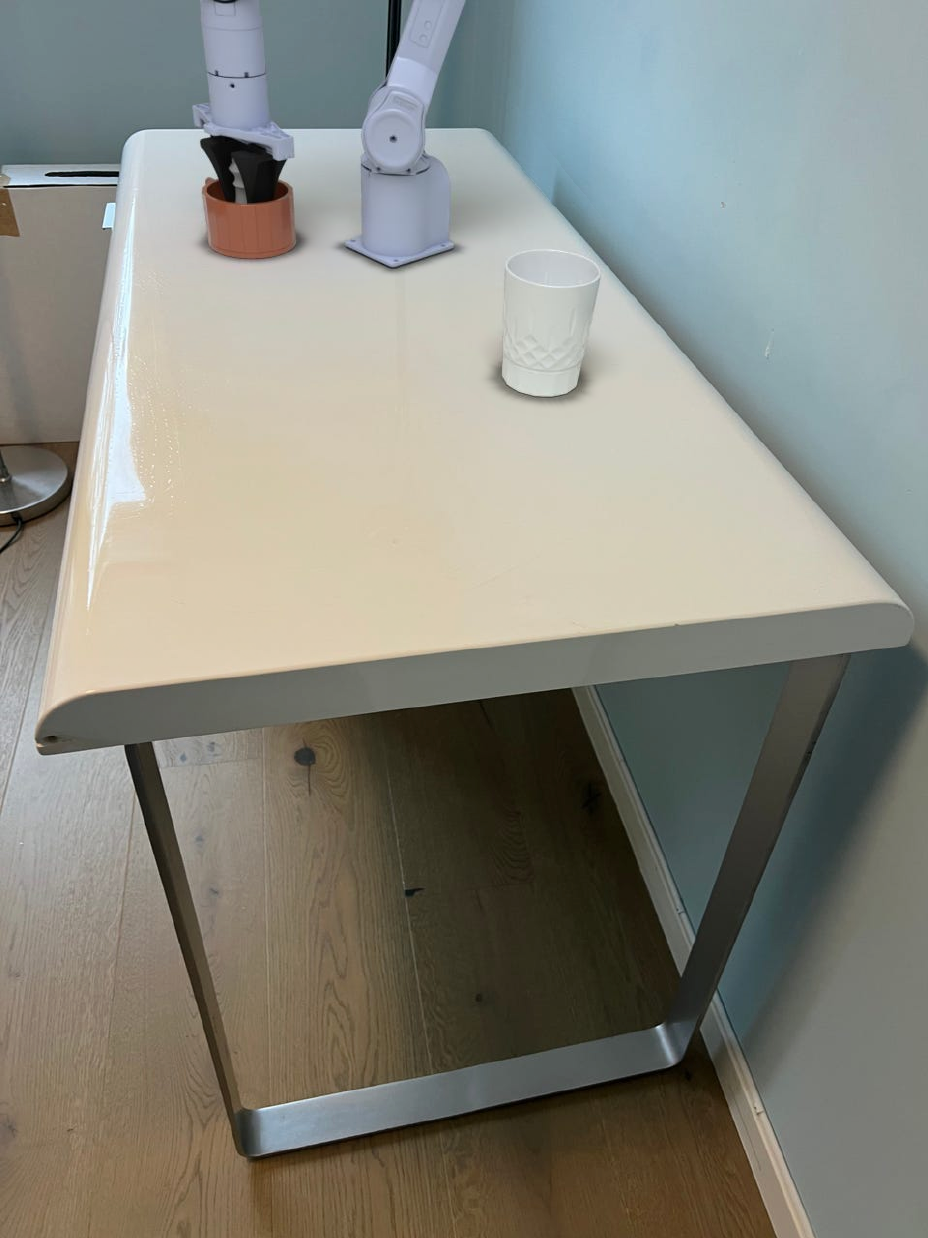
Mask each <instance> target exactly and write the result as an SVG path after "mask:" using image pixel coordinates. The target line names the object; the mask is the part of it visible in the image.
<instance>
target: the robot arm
mask: <svg viewBox="0 0 928 1238" xmlns="http://www.w3.org/2000/svg"><path fill="white" fill-rule="evenodd" d="M466 1H467V0H413V1H412V3H411V7H410V10H409V13H408V15H407V19H406V22H405V24H404V28H403V31H402V34H401V37H400V38H399V43H398V46H397V49H396V51H395V53H394V57H393V59H392V61H391V64H390V68H389V70H388V73H387V76H386V77H385V79H384V80H383V82H382V83H381V84H380V85H379V86H378V87H377V88H376V89H375V90H374V91H373V92H372V94H371V95H370V97H369V100H368V103H367V109H366V116H365V119H364V120H363V123H362V126H361V131H360V133H361V134H360V137H361V145H362V148H363V151H364V152H363V153H361V154H360V196H361V197H360V205H361V206H360V209H361V212H360V213H361V236H358V237H354V238H351V239H347V240H345V241H344V245H345V247H347V248H349V249H351V250H353V251H356V252H357V253H359V254H362V255H364V256H366V257H367V258H370V259H373V260H375V261H377V262H379V263H381V264H384V265H386V266H388V267H390V268H396V267H399V266H402V265H405V264H408V263H411V262H415V261H417V260H421V259H424V258H427V257H430V256H433V255H437V254H440V253H442V252H446V251H449V250H452V249H454V247H455V243H454V242H452V241H451V240H450V223H451V221H450V220H451V201H452V183H451V178H450V175H449V173H448V172H449V171H448V170H447V168H446V166H445V165H444V163H442V161H440V159H439V158H437V157H435V156H433V155H429V154H428V153H426V149H425V148H426V139H427V138H426V137H427V136H426V126H427V123H428V111H429V109H430V105H431V103H432V99H433V95H434V92H435V89H436V86H437V82H438V78H439V75H440V72H441V70H442V67H443V64H444V62H445V58H446V56H447V53H448V50H449V47H450V45H451V42H452V39H453V37H454V34H455V31H456V28H457V26H458V23H459V20H460V17H461V15H462V12H463V9H464V7H465V4H466ZM199 5H200V25H201V34H202V45H203V51H204V62H205V69H206V79H207V88H208V98H209V102H206V103H205V102H204V103H200V104H193V105H192V106H191V108H192V115H193V123H194V124H193V125H194V126H195V127H198V128H203V132H204V133H205V134H208V135H209V137H202V138H200V140H199V145H200V148H201V149H202V151H203V152H204V153H205V155H206V157H207V158H208V161H209V162H210V164H211V165H212V168H213V170H214V172H215V175H216V177H217V179H219V182H220V185H221V187H222V190H223V193H224V196H225V199H226V202H231V203H236V190H235V186H234V185H233V182H234V181H235V177H234V175H233V173H232V172H231V171H230V169H229V167H230V165H231V164H232V158H233V160H234V162H235V164H236V166H237V168H238V170H239V173H240V175H241V178H242V181H243V185H244V189H245V194H246V200H247V204H255V203H264V202H270V201H274V195H275V190H276V186H277V182H278V179H279V180H280V176H281V173H282V171H283V168H284V166H285V165H286V162H287V161H288V160H289V159H294V158H295V157H296V156H295V143H294V142H295V141H294V136H293V135H290V134H288V133H286V132H285V131H284V130H283V129H282V128H281V127H279V125H277V124H276V123H275V122H274V121H273V120H272V119H271V117H270V104H269V92H268V78H267V67H266V54H265V52H266V51H265V40H264V39H265V38H264V28H263V27H264V25H263V18H262V14H261V9H260V0H199Z"/></svg>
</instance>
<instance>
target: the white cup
mask: <svg viewBox="0 0 928 1238" xmlns="http://www.w3.org/2000/svg"><path fill="white" fill-rule="evenodd" d="M601 278H602V268H601V267H600V266H599V264H598V263H596V262H595V261H594V260H592V259H591V258H589V257H586V256H585V255H582V254H579V253H576V252H572V251H567V250H562V249H555V248H554V249H553V248H552V249H551V248H534V249H527V250H523V251H519V252H516V253H514V254H512V255H510V256H509V257H508V258H506V261H505V262H504V280H503V284H504V285H503V305H502V338H501V340H502V342H501V343H502V351H503V352H502V365H501V377H502V378H503V380H504V382H505V384H506V385H507V386H508V387H510V388H511V389H513V390H514V391H516V392H519V393H520V394H521V393H522V394H526V395H529V396H533V397H542V398H543V397H544V398H545V397H550V398H551V397H552V398H553V397H557V396H558V397H559V396H562V395H566V394H568V393H570V392H571V391H572V390H574V389H575V388H576V387H577V385H578V381H579V376H580V372H581V367H582V363H583V358H584V357H585V354H586V349H587V345H588V342H589V336H590V331H591V327H592V324H593V319H594V313H595V307H596V302H597V298H598V292H599V287H600V283H601Z"/></svg>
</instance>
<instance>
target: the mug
mask: <svg viewBox="0 0 928 1238" xmlns="http://www.w3.org/2000/svg"><path fill="white" fill-rule="evenodd" d="M201 196H202V197H201V198H202V205H203V213H204V221H205V229H206V237H207V242H208V246H209V247H210V248H211V250H213V251H215V252H216V253H218V254H220V255H223V256H225V257H230V258H236V259H247V260H248V259H249V260H252V259H254V260H255V259H265V258H267V259H268V258H272V257H277V256H281V255H284V254H286V253H288V252H290V251H291V250H293V249H294V248H295V246H296V244H297V233H296V217H295V216H296V215H295V202H294V201H295V200H294V188H293V186H292V185H291V184H289V183H288V182H286V181H285V180H282V179H280V178H279V179H278V182H277V186H276V190H275V195H274V201H270V202H264V203H255V204H240V203H231V202H226V199H225V196H224V193H223V190H222V187H221V185H220V182H219V179H218V178H213V177H211V176H208V177H206V178H205V180H204V185H203V186H202V188H201Z"/></svg>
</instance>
